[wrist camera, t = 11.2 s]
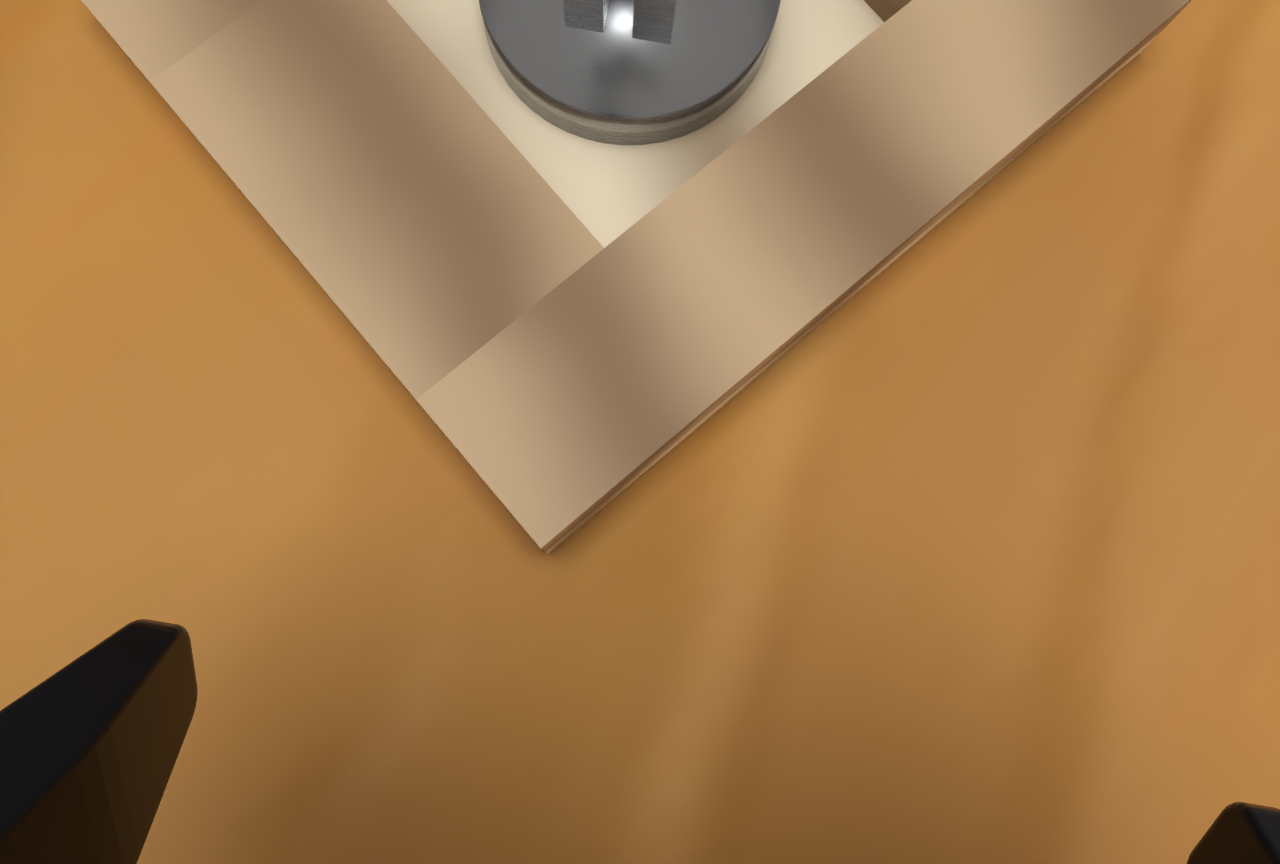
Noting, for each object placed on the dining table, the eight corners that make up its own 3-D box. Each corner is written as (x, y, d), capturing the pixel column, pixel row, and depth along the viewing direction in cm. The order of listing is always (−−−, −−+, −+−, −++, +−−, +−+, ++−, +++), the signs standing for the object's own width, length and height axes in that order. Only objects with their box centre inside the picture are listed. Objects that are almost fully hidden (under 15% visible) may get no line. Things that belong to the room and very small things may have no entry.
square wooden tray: (547, 555, 23) (540, 548, 21) (95, 15, 25) (38, -51, 22) (1140, 52, 25) (1199, -8, 23) (692, -411, 27) (702, -513, 24)
